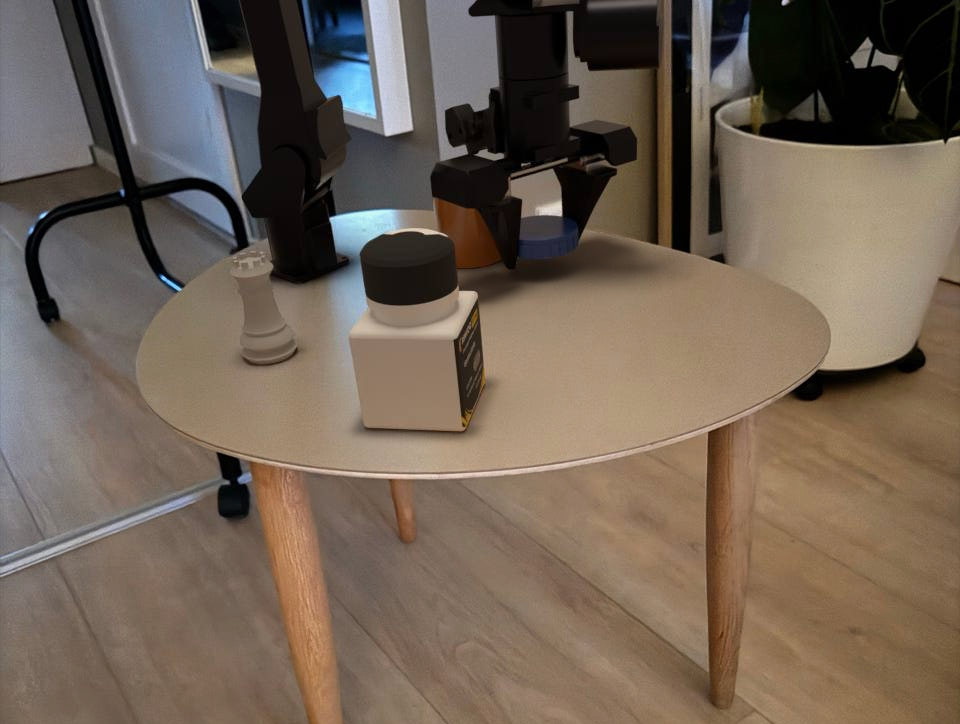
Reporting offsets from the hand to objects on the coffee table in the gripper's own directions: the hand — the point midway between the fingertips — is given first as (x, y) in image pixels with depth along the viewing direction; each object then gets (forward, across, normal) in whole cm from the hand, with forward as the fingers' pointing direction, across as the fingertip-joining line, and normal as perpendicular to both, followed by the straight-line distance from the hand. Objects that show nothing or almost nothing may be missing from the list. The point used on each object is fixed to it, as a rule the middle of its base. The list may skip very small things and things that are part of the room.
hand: (541, 258), depth 83 cm
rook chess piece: (+1, +26, -2) cm, 26 cm away
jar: (+1, +2, -8) cm, 8 cm away
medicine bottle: (+1, +22, +14) cm, 26 cm away
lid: (-2, 0, 0) cm, 2 cm away
